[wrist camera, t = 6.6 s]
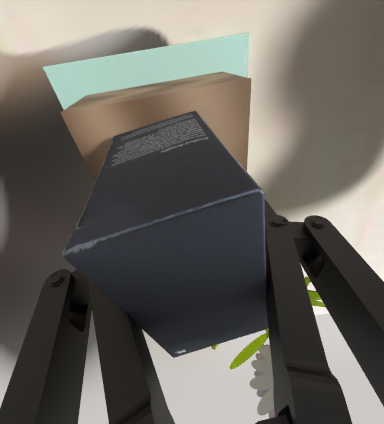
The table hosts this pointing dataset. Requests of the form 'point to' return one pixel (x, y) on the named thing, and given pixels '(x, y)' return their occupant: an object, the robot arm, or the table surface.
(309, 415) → the robot arm
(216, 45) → the baseplate
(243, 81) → the walnut block
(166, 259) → the small box
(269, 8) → the table surface
